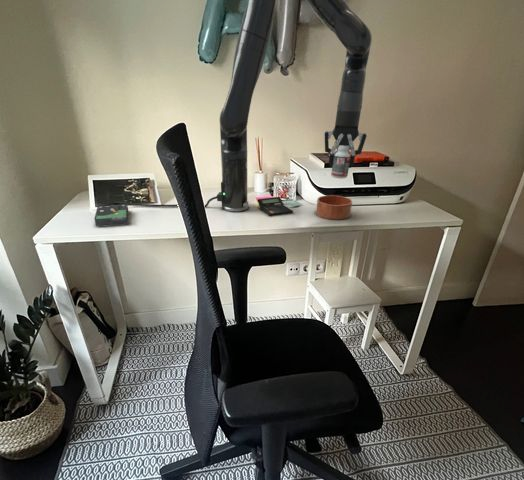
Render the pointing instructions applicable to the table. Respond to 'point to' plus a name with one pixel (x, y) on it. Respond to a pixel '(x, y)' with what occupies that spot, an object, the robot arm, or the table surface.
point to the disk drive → (111, 215)
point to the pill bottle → (341, 162)
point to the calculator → (273, 206)
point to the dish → (334, 207)
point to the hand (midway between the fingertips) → (340, 166)
